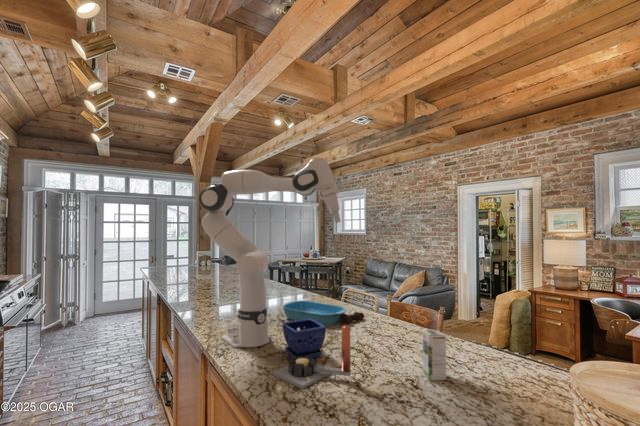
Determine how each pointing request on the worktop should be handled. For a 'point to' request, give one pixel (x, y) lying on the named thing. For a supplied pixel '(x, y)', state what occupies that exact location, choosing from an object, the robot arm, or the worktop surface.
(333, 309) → the casserole dish
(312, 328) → the flower pot
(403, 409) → the worktop surface
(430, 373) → the syrup box
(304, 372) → the nut with spanner
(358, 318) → the brown pine cone
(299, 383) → the plate
